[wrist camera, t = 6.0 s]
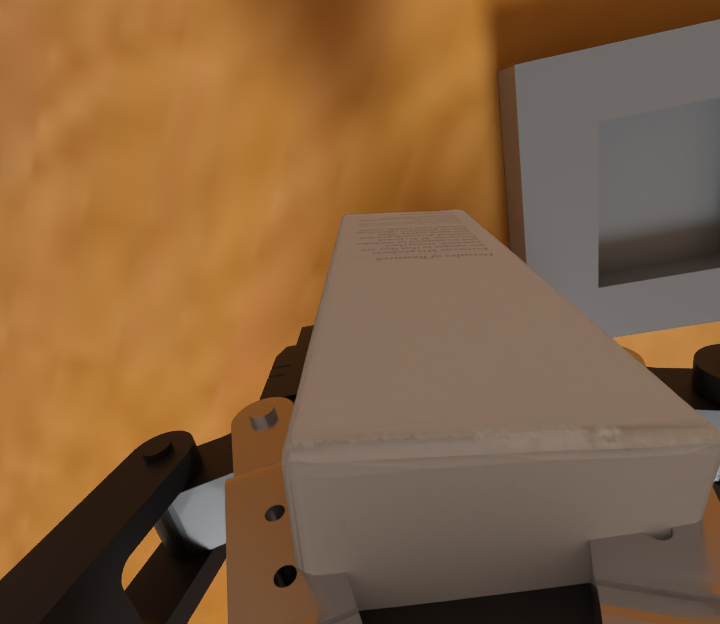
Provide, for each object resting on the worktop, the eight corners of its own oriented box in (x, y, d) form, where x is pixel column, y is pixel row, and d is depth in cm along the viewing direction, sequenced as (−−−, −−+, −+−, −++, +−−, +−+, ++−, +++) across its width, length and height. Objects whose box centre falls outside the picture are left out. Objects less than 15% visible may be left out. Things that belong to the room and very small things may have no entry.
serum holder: (516, 327, 27) (531, 349, 25) (497, 72, 22) (514, 64, 19) (764, 287, 26) (810, 306, 23) (807, 3, 21) (874, -16, 18)
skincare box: (462, 363, 17) (629, 797, 6) (350, 367, 17) (318, 799, 6) (468, 201, 15) (758, 439, 4) (339, 208, 15) (256, 455, 4)
